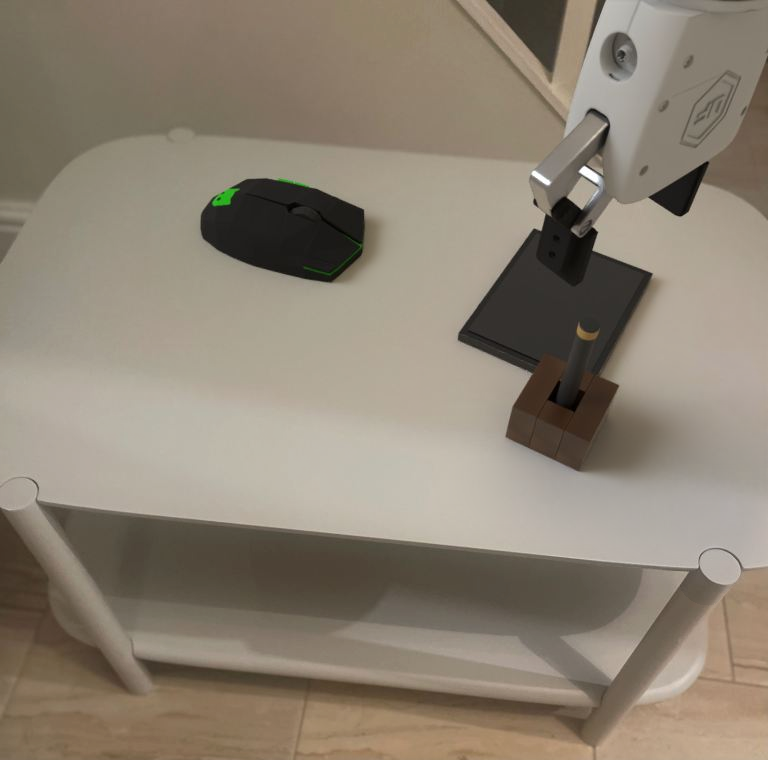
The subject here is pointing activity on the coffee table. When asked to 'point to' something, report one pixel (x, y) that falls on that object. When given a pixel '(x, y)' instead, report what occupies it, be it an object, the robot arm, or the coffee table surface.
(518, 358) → the tablet
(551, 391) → the holder
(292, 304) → the coffee table surface
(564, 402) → the stylus
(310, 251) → the computer mouse
